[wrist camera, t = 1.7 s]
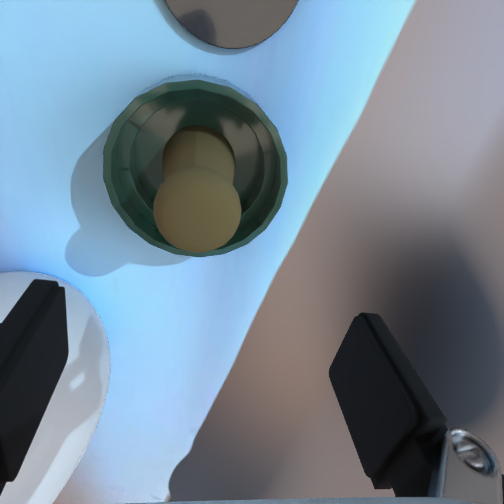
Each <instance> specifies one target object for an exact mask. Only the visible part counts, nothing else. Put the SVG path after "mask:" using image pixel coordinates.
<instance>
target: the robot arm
mask: <svg viewBox="0 0 504 504" xmlns="http://www.w3.org/2000/svg"><path fill="white" fill-rule="evenodd" d="M68 354H69V347H68V330H67V313H66V296H65V288H64V287H62V286H59V284H58V282H57V281H53V280H43V279H34V280H33V281H32V282H31V283H30V285H29V286H28V288H27V289H26V290H25V292H24V293H23V294H22V296H21V297H20V298H19V300H18V301H17V303H16V304H15V305H14V307H13V308H12V309H11V311H10V312H9V313H8V315H7V316H6V318H5V319H4V320H3V322H2V323H0V496H1V493H2V491H3V489H4V487H5V485H6V482H13V481H14V480H15V479H16V477H17V475H18V473H19V471H20V468H21V466H22V464H23V461H24V459H25V457H26V454H27V452H28V450H29V448H30V445H31V443H32V441H33V438H34V436H35V434H36V432H37V429H38V427H39V425H40V422H41V420H42V418H43V416H44V413H45V411H46V409H47V406H48V404H49V402H50V399H51V397H52V395H53V393H54V390H55V388H56V386H57V383H58V381H59V379H60V377H61V374H62V372H63V370H64V367H65V365H66V363H67V359H68ZM329 377H330V381H331V383H332V386H333V389H334V391H335V394H336V397H337V399H338V402H339V405H340V407H341V410H342V413H343V415H344V418H345V421H346V424H347V426H348V429H349V432H350V434H351V437H352V440H353V442H354V445H355V448H356V450H357V453H358V456H359V459H360V461H361V464H362V467H363V469H364V472H365V474H366V475H367V476H368V477H369V478H371V480H372V483H373V486H374V489H391V488H393V490H394V493H395V495H396V496H395V497H366V498H365V497H364V498H314V499H313V498H311V499H269V500H230V501H192V502H159V503H126V504H504V475H503V474H502V472H501V466H500V463H499V460H498V459H497V456H496V454H495V453H494V452H493V451H492V449H491V448H490V447H489V446H488V445H487V444H486V443H485V442H484V441H483V440H482V439H481V438H479V437H478V436H477V435H475V434H474V433H472V432H470V431H468V430H466V429H463V428H459V427H454V428H450V429H449V430H448V429H447V427H446V426H445V422H446V421H447V419H446V418H445V416H444V415H443V413H442V411H441V410H440V408H439V407H438V405H437V404H436V402H435V401H434V399H433V397H432V396H431V394H430V393H429V391H428V390H427V388H426V387H425V385H424V383H423V382H422V380H421V379H420V377H419V376H418V374H417V373H416V371H415V369H414V368H413V366H412V365H411V363H410V362H409V360H408V359H407V357H406V356H405V354H404V352H403V351H402V349H401V348H400V346H399V345H398V343H397V341H396V340H395V338H394V337H393V335H392V334H391V332H390V331H389V329H388V327H387V326H386V325H385V323H384V321H383V320H382V318H381V317H380V316H379V315H378V314H373V313H360V314H359V315H358V316H356V317H354V319H353V321H352V323H351V325H350V327H349V329H348V331H347V333H346V335H345V337H344V340H343V341H342V344H341V346H340V348H339V350H338V352H337V354H336V356H335V358H334V360H333V362H332V364H331V366H330V369H329Z"/></svg>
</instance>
